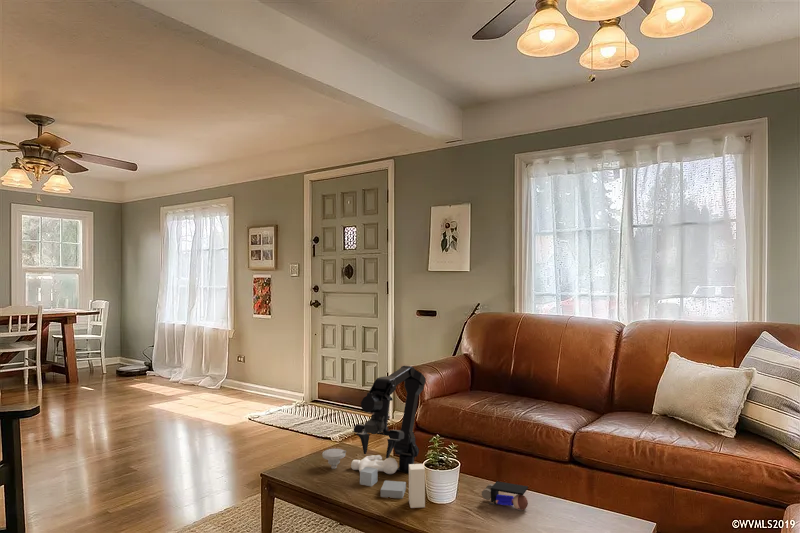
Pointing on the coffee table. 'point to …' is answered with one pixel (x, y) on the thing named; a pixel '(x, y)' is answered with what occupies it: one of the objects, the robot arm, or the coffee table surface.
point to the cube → (368, 476)
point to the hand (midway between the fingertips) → (375, 456)
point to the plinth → (393, 489)
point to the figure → (376, 464)
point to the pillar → (416, 485)
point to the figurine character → (517, 501)
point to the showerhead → (333, 456)
